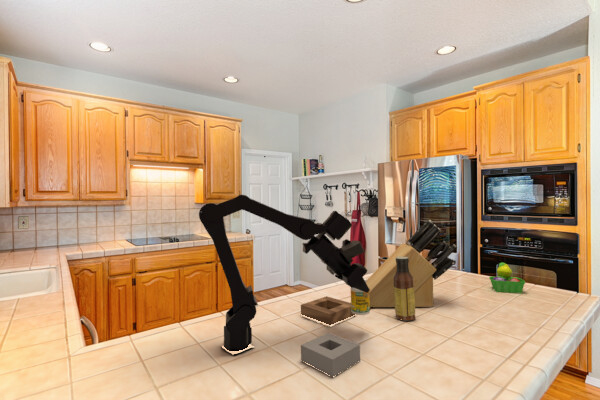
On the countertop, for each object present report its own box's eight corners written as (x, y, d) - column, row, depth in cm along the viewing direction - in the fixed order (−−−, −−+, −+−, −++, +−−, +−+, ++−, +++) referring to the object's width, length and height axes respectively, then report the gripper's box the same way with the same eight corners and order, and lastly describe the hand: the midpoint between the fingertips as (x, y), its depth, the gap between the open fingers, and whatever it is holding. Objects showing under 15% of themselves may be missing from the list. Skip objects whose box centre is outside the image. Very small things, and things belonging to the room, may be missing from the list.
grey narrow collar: (332, 378, 68) (332, 359, 68) (301, 361, 75) (300, 344, 75) (360, 361, 75) (359, 344, 75) (328, 347, 82) (328, 332, 82)
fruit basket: (494, 292, 128) (493, 265, 128) (488, 287, 137) (487, 261, 137) (526, 294, 125) (525, 266, 125) (518, 288, 133) (517, 262, 134)
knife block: (460, 308, 111) (458, 220, 111) (361, 309, 111) (359, 222, 112) (446, 298, 122) (444, 219, 122) (355, 299, 122) (354, 220, 123)
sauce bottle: (412, 315, 105) (411, 255, 105) (417, 322, 98) (416, 259, 99) (392, 314, 105) (391, 255, 105) (396, 321, 99) (395, 258, 99)
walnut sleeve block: (330, 327, 95) (330, 314, 95) (300, 316, 105) (300, 304, 105) (355, 316, 104) (355, 304, 104) (326, 307, 114) (326, 296, 114)
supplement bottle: (366, 308, 93) (365, 276, 93) (372, 314, 88) (372, 280, 88) (348, 309, 92) (348, 277, 93) (354, 316, 87) (353, 281, 87)
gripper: (359, 234, 81) (399, 275, 83) (335, 229, 99) (368, 262, 101) (330, 266, 79) (371, 307, 81) (311, 255, 97) (345, 288, 99)
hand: (364, 288), depth 91 cm, fingers closed on supplement bottle, 5 cm apart
